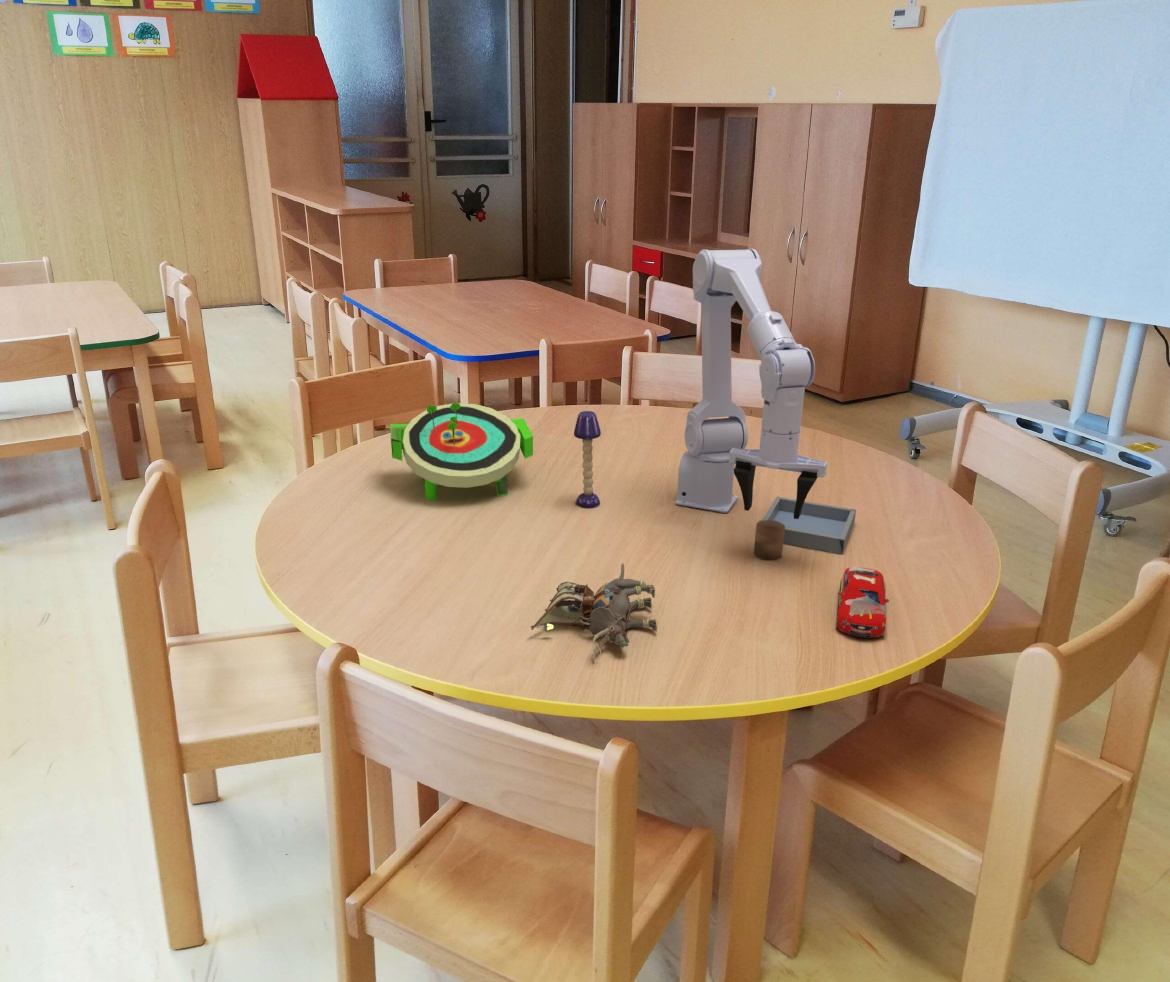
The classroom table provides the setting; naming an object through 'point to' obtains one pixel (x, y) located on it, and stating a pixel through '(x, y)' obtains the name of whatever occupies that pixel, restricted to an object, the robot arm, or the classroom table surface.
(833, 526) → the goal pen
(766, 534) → the walnut post
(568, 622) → the figurine
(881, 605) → the race car
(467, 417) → the dartboard
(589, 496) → the toy lamp
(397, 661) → the classroom table surface
